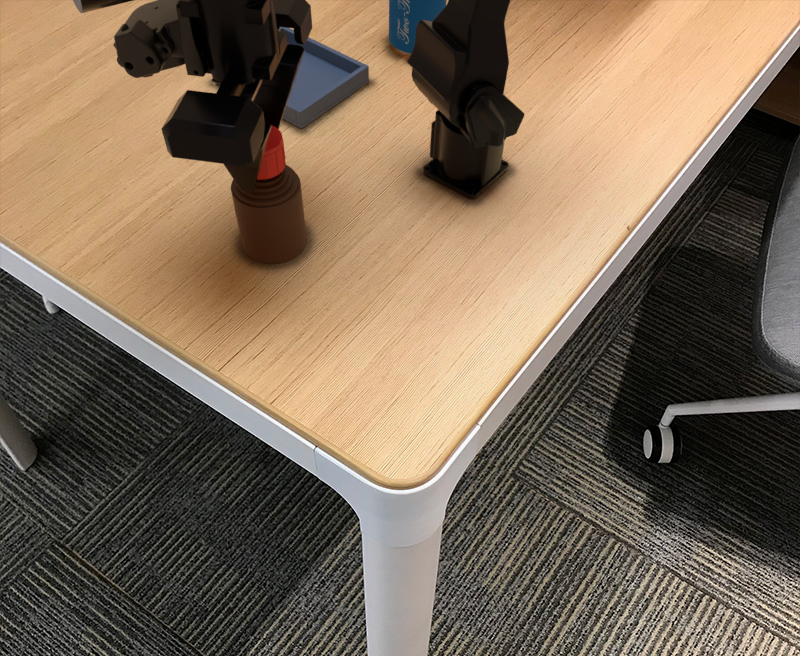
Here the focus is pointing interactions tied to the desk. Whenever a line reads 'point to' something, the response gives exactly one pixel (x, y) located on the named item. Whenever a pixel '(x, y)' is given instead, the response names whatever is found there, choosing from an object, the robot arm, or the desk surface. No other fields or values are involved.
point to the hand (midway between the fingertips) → (258, 164)
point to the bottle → (271, 218)
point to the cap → (273, 155)
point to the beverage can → (409, 20)
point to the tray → (321, 81)
